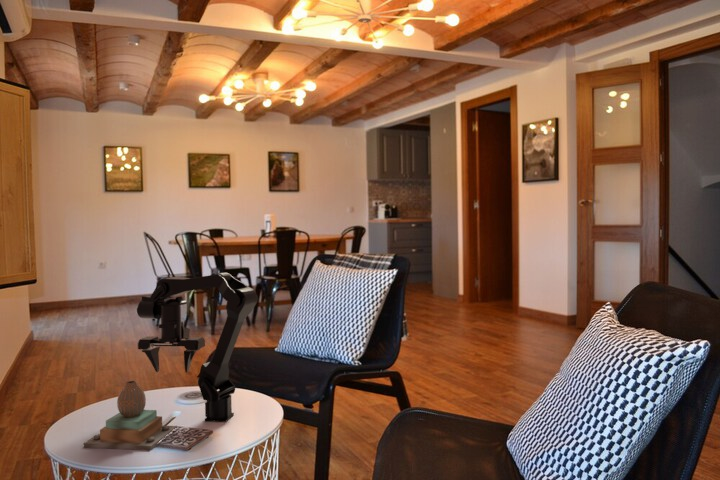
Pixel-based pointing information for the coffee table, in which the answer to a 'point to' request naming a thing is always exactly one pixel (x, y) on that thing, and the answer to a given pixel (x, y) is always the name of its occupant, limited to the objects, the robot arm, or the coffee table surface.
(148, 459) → the coffee table surface
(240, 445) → the coffee table surface
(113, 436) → the stacked plates with bolts
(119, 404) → the vase
